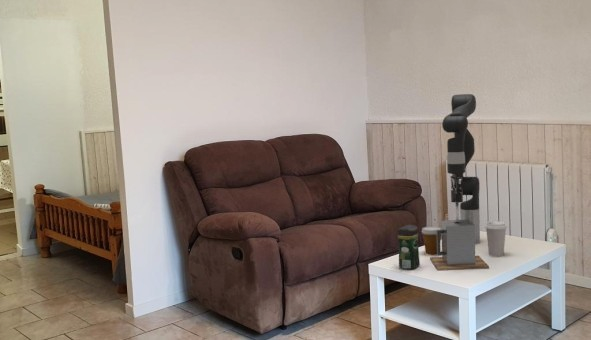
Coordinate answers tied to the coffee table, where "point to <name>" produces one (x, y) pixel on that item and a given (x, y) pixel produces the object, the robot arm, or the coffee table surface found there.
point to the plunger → (456, 203)
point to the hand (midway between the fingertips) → (457, 200)
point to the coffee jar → (408, 247)
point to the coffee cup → (496, 237)
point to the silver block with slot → (457, 242)
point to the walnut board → (441, 265)
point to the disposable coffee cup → (430, 239)
